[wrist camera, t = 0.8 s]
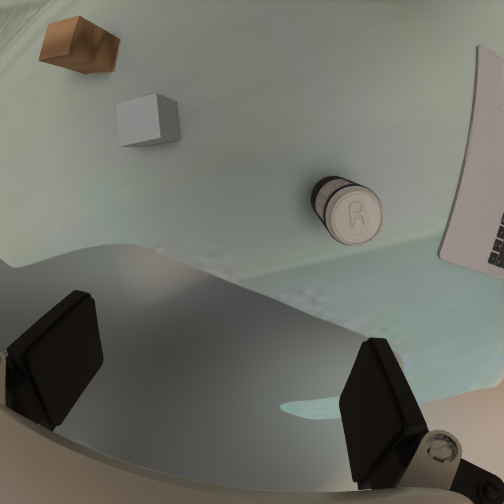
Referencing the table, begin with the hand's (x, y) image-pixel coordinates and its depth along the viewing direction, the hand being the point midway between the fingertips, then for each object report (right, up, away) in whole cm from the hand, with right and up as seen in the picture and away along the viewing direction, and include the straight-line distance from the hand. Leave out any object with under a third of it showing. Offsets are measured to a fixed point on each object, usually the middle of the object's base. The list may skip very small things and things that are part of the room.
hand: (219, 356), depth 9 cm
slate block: (-11, +20, +25) cm, 34 cm away
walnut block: (-20, +31, +22) cm, 43 cm away
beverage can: (+11, +10, +27) cm, 31 cm away
